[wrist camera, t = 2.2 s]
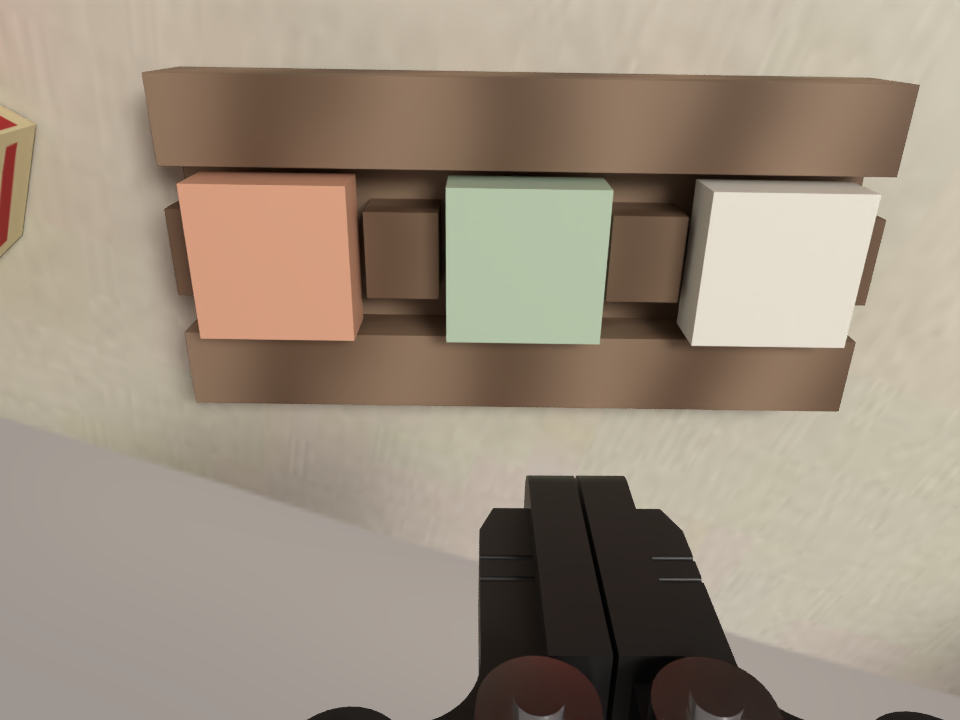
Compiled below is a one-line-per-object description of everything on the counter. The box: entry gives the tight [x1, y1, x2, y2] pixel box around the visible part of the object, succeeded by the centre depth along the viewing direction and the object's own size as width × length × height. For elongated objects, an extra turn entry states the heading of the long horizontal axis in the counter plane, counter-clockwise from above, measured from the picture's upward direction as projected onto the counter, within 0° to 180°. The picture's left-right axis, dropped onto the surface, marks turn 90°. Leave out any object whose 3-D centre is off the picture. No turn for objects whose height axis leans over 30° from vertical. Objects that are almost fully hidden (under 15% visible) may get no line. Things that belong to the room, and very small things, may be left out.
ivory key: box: [677, 179, 881, 348], centre depth 24 cm, size 5×5×2 cm
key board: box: [142, 67, 920, 411], centre depth 25 cm, size 23×11×3 cm, turn 89°
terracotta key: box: [176, 171, 363, 341], centre depth 24 cm, size 5×5×2 cm
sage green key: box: [446, 175, 614, 344], centre depth 24 cm, size 5×5×2 cm
